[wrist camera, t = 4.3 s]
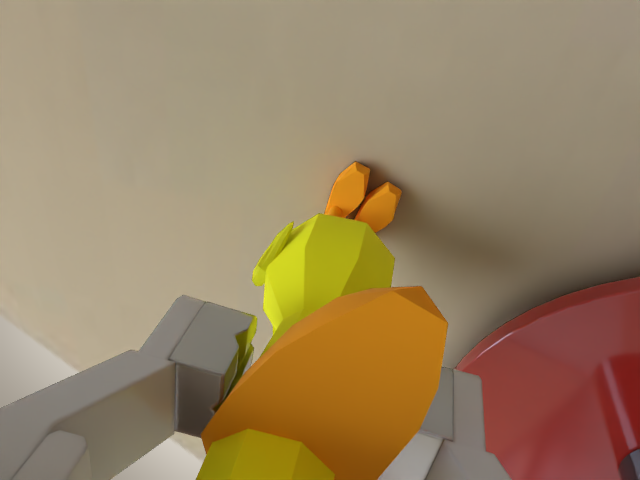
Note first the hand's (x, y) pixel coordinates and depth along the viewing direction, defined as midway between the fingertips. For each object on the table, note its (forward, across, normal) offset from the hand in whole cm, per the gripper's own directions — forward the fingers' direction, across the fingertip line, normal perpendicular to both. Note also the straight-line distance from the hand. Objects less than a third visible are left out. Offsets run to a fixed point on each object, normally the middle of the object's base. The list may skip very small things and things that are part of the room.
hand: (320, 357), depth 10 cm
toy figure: (+6, 0, 0) cm, 7 cm away
